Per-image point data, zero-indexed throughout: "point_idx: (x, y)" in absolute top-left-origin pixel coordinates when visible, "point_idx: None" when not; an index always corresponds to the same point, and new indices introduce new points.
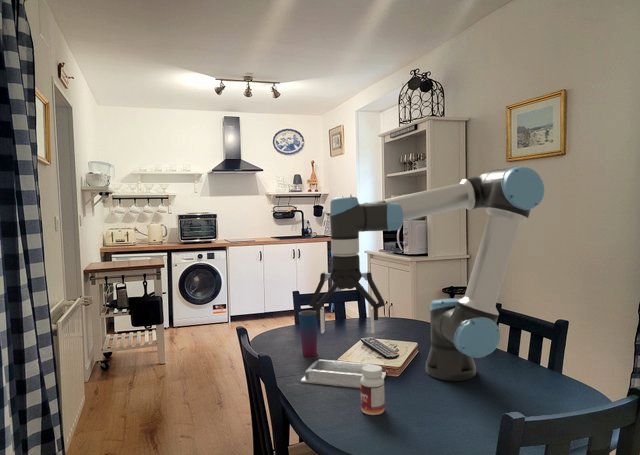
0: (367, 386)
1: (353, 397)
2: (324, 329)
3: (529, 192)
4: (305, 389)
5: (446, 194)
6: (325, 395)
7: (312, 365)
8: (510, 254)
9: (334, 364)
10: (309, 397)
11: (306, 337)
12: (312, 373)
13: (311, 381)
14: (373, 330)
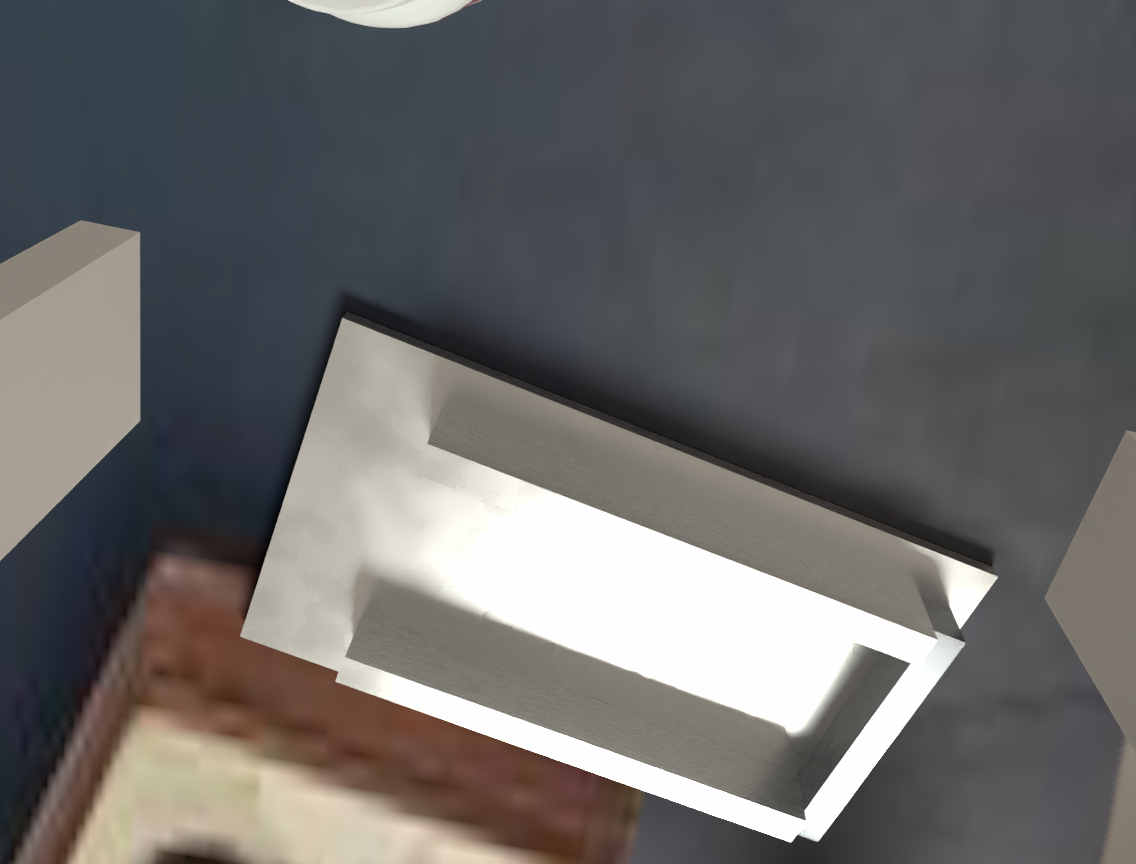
0: None
1: (588, 197)
2: (1073, 581)
3: None
4: (983, 424)
5: None
6: (832, 277)
7: (868, 755)
8: None
9: (669, 755)
10: (986, 257)
11: None
12: (899, 612)
13: (908, 541)
14: (60, 237)
